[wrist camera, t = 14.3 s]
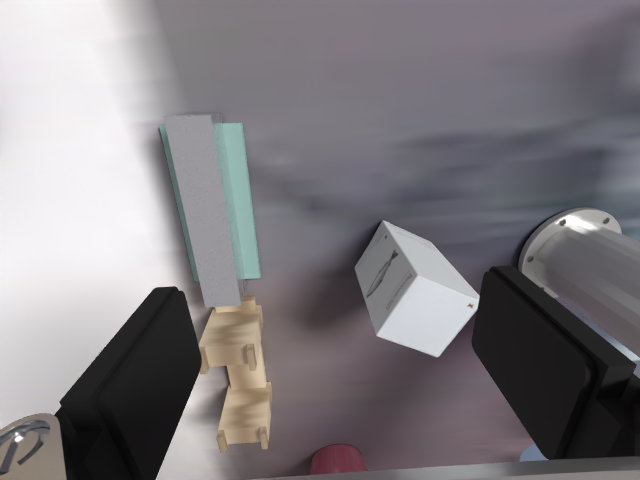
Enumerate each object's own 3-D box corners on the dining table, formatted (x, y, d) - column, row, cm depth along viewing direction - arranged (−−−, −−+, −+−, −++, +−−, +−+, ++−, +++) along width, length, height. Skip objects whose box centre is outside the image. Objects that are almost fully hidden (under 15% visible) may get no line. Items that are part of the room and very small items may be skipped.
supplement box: (381, 217, 37) (419, 272, 25) (432, 241, 39) (488, 302, 27) (351, 267, 39) (373, 337, 28) (400, 287, 41) (439, 360, 30)
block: (179, 114, 30) (163, 116, 27) (221, 113, 30) (210, 115, 27) (213, 287, 39) (205, 307, 35) (246, 285, 39) (241, 305, 35)
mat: (242, 122, 31) (241, 123, 31) (260, 275, 39) (260, 278, 38) (161, 125, 31) (159, 125, 31) (195, 279, 39) (194, 281, 38)
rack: (259, 295, 40) (251, 339, 33) (273, 402, 49) (269, 455, 41) (211, 298, 40) (192, 343, 33) (233, 405, 48) (221, 459, 41)
